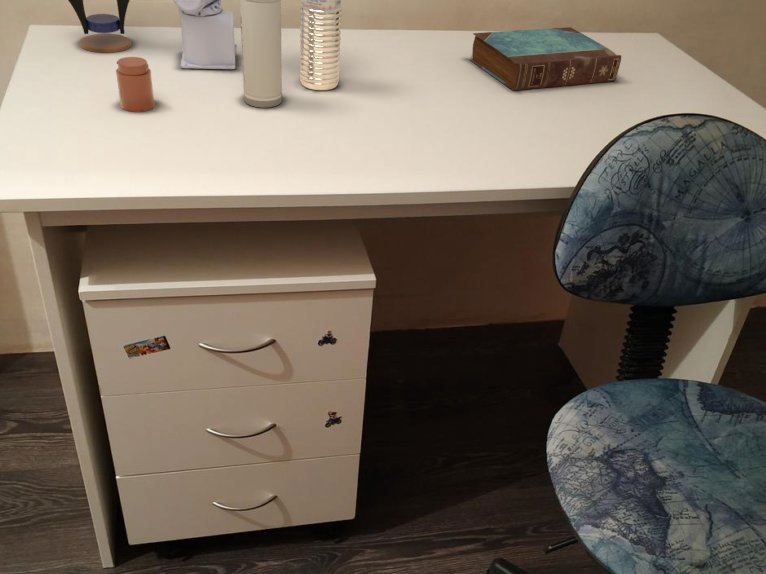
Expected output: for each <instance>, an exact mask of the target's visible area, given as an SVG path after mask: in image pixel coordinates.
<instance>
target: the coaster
mask: <svg viewBox="0 0 766 574" xmlns="http://www.w3.org/2000/svg"><path fill="white" fill-rule="evenodd" d="M79 45H80V48H82V49H83V50H86V51H87V52H88V51H89V52H93V53H100V54H101V53H102V54H105V53H106V54H108V53H119V52H123V51H126V50H128V49H129V48H131V47H132V40H131V39H130V38H129V37H127V36H125V35H123V34H118V33H95V34H90V35H89V34H88V35H87V36H83V37H82V38H81V39H80V40H79Z"/></svg>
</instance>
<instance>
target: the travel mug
mask: <svg viewBox="0 0 766 574" xmlns="http://www.w3.org/2000/svg"><path fill="white" fill-rule="evenodd" d="M239 12H240V36H241V38H240V39H241V61H242V62H241V63H242V82H243V86H242V87H243V100H244V102H245V103H246V104H247V105H249V106H251V107H254V108H262V109H267V108H268V109H269V108H274V107H277V106H279V105H281V103H282V102H283V92H282V91H283V78H282V76H283V75H282V74H283V71H282V69H283V68H282V66H283V65H282V0H239Z"/></svg>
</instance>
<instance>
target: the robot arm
mask: <svg viewBox="0 0 766 574" xmlns="http://www.w3.org/2000/svg"><path fill="white" fill-rule="evenodd" d="M67 1H68V2H69V4H70V5H71V7H72V8H73V10H74V12H75V14H76V15H77V18H78V20H79V22H80V24H81V27H82V31H83V34H84V35H89V31H90V30H88V27H87V23H86V18H87V15H86V12H85V11H86V10H85V6H84V0H67ZM130 1H131V0H116V5H117V11H118V12H117V13H118V18H119V26H120V29H119V33H120V34H119V35H124V34H125V20H126V14H127V10H128V6H129V3H130ZM172 1H173V2H174V4H175V6H177V8H178V10H179V11H178V12H179V19H180V29H181V38H182V39H181V42H182V52H181V60H180V68H182V69H201V70H202V69H207V70H208V69H209V70H235V69H236V56H237V55H238V49H237V48H238V46H237V44H236V43H235V24H234V11H233V10H227V9H226V10H225V9H223V8H222V0H172Z"/></svg>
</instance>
